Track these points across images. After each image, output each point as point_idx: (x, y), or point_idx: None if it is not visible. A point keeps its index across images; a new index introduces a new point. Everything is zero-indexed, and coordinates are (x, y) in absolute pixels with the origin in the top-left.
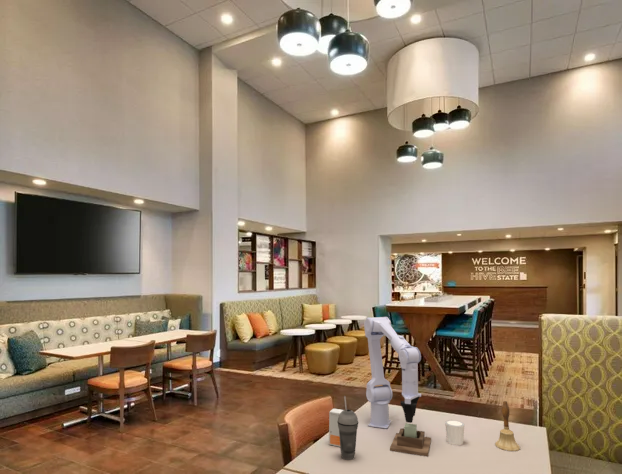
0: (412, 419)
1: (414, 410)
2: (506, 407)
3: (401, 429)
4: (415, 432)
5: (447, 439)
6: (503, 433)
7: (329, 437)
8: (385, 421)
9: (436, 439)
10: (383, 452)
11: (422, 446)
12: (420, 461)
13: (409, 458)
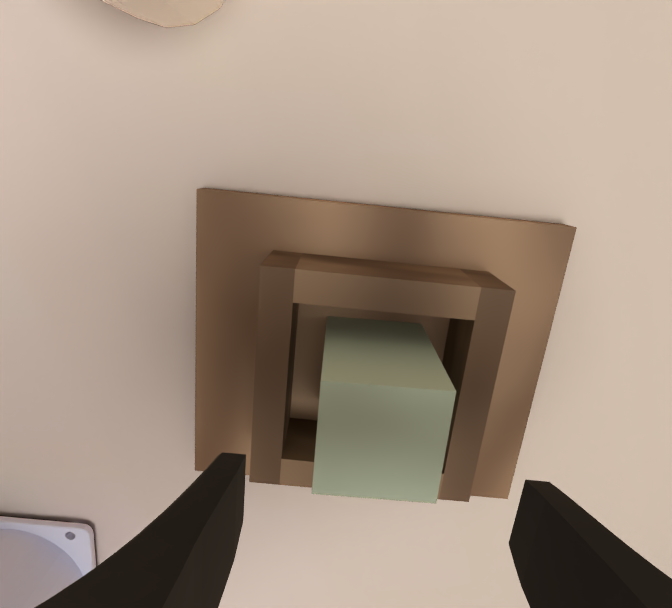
0: (581, 509)
1: (223, 512)
2: None
3: (277, 474)
4: (445, 371)
5: (187, 16)
6: None
7: None
8: (31, 571)
9: (158, 137)
10: None
11: (477, 273)
12: (661, 280)
13: (614, 357)
